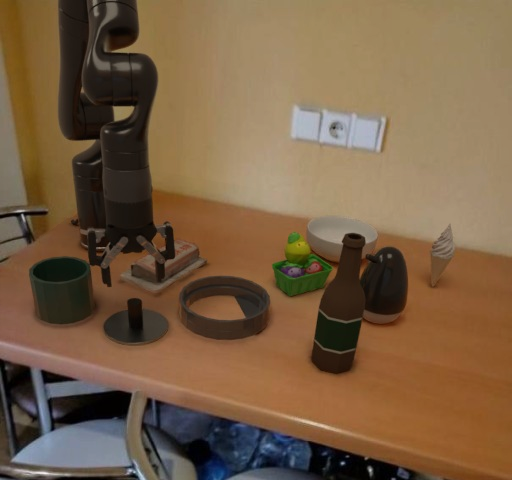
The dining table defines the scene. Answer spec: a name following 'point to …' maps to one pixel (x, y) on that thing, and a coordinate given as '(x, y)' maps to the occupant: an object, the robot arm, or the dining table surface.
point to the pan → (245, 292)
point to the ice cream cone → (441, 254)
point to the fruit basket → (300, 268)
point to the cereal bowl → (337, 235)
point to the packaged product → (174, 268)
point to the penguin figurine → (385, 285)
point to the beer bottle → (341, 311)
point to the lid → (135, 325)
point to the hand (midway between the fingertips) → (134, 282)
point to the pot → (62, 290)
